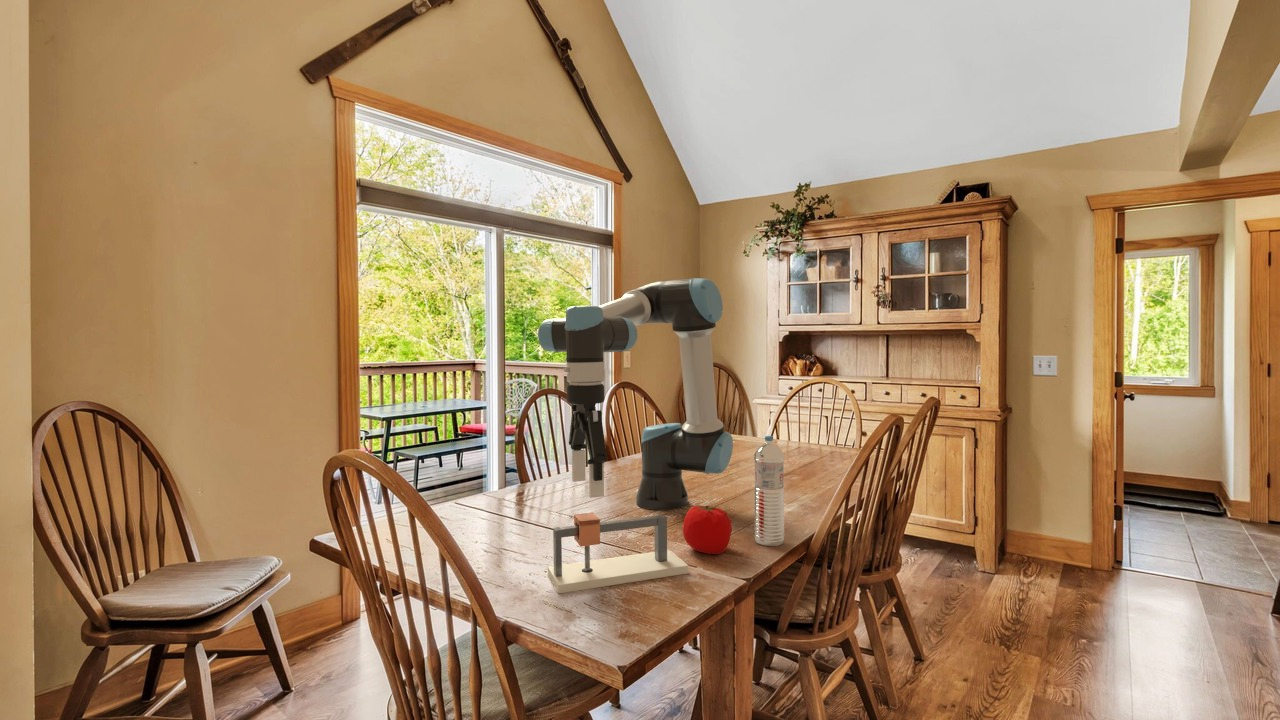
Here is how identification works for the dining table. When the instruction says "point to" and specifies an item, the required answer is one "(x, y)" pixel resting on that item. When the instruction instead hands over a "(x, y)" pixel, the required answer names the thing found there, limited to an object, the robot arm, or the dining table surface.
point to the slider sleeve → (587, 532)
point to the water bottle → (769, 494)
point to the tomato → (707, 529)
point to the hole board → (616, 571)
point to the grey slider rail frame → (617, 525)
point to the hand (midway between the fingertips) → (587, 488)
